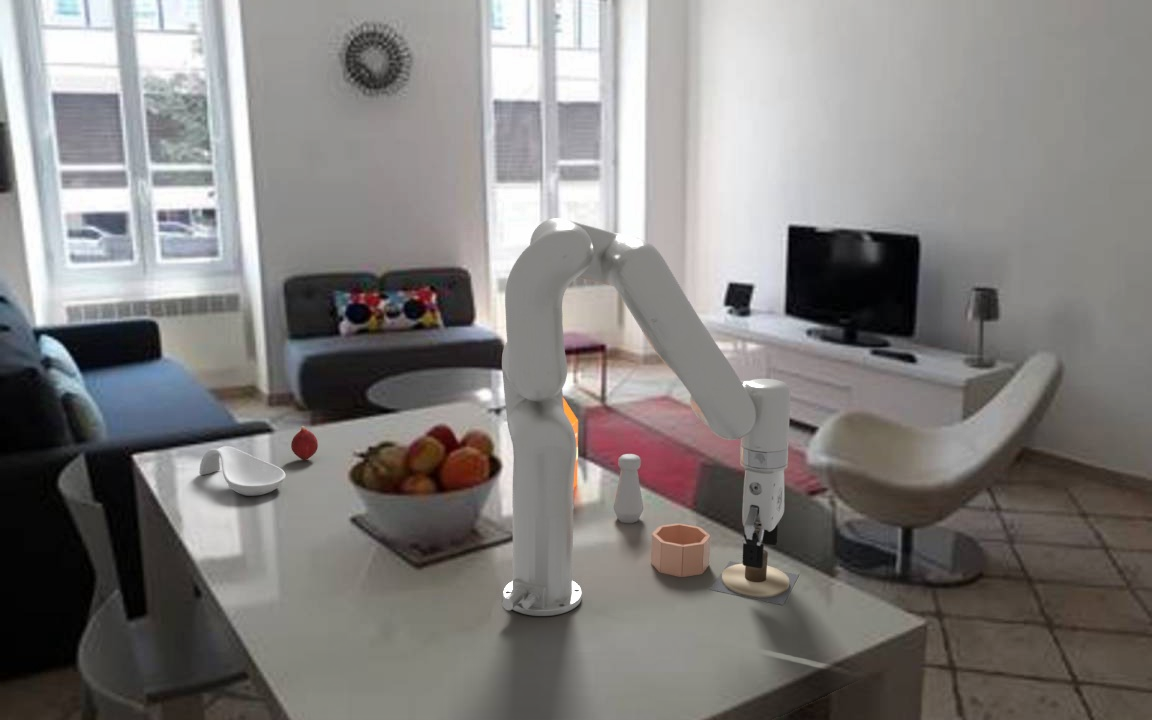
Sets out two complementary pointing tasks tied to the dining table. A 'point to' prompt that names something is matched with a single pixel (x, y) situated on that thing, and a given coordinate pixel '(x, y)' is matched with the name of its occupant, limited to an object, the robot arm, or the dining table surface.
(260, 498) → the dining table surface
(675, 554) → the bowl
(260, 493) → the spoon rest
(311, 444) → the onion
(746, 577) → the lid
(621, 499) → the salt shaker
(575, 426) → the orange juice
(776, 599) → the mat
